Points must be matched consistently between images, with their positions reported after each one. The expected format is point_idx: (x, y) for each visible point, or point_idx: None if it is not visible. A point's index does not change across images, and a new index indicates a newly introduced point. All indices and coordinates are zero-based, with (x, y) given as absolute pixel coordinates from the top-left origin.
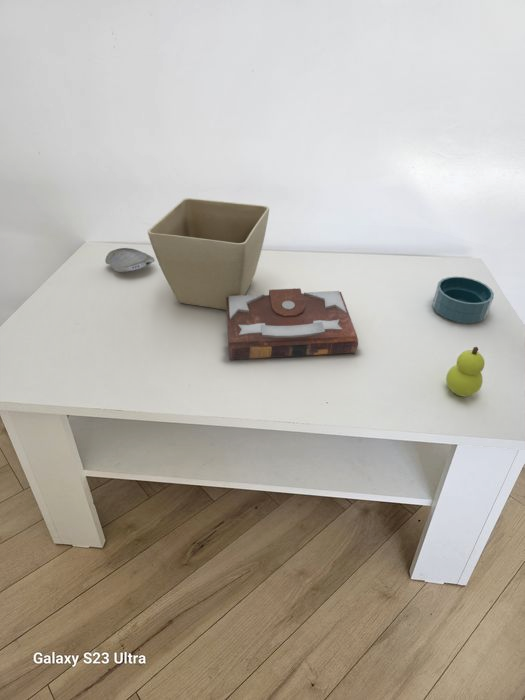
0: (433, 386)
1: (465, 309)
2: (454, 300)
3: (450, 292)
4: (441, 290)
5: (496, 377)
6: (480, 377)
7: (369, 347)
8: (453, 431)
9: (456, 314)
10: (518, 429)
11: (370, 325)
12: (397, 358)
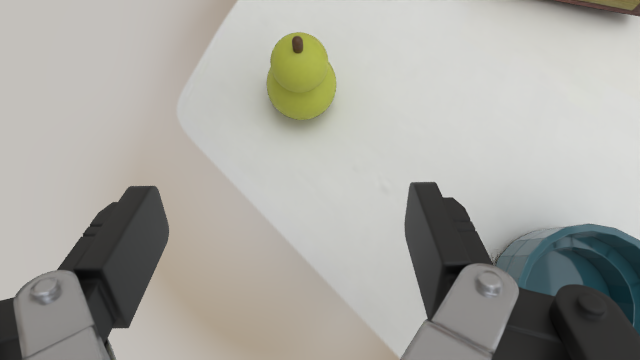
0: (333, 63)
1: (518, 256)
2: (554, 233)
3: (626, 308)
4: (613, 234)
5: (308, 196)
6: (275, 88)
7: (481, 19)
8: (228, 25)
9: (519, 243)
10: (183, 128)
11: (553, 61)
12: (430, 49)
